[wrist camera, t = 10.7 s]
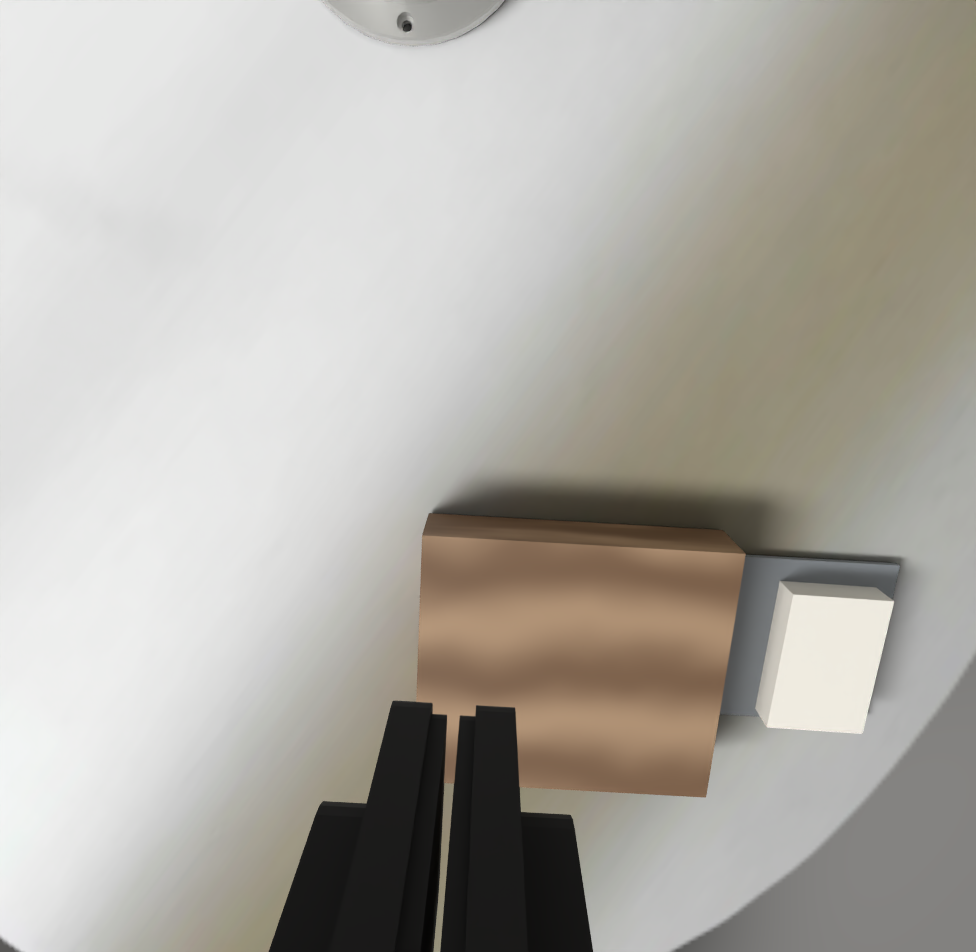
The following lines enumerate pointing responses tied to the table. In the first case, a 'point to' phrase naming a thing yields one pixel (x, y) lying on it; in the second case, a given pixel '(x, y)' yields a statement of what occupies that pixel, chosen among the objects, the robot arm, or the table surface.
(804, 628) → the cream white rectangular block
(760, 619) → the mat
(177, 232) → the table surface
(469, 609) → the board
